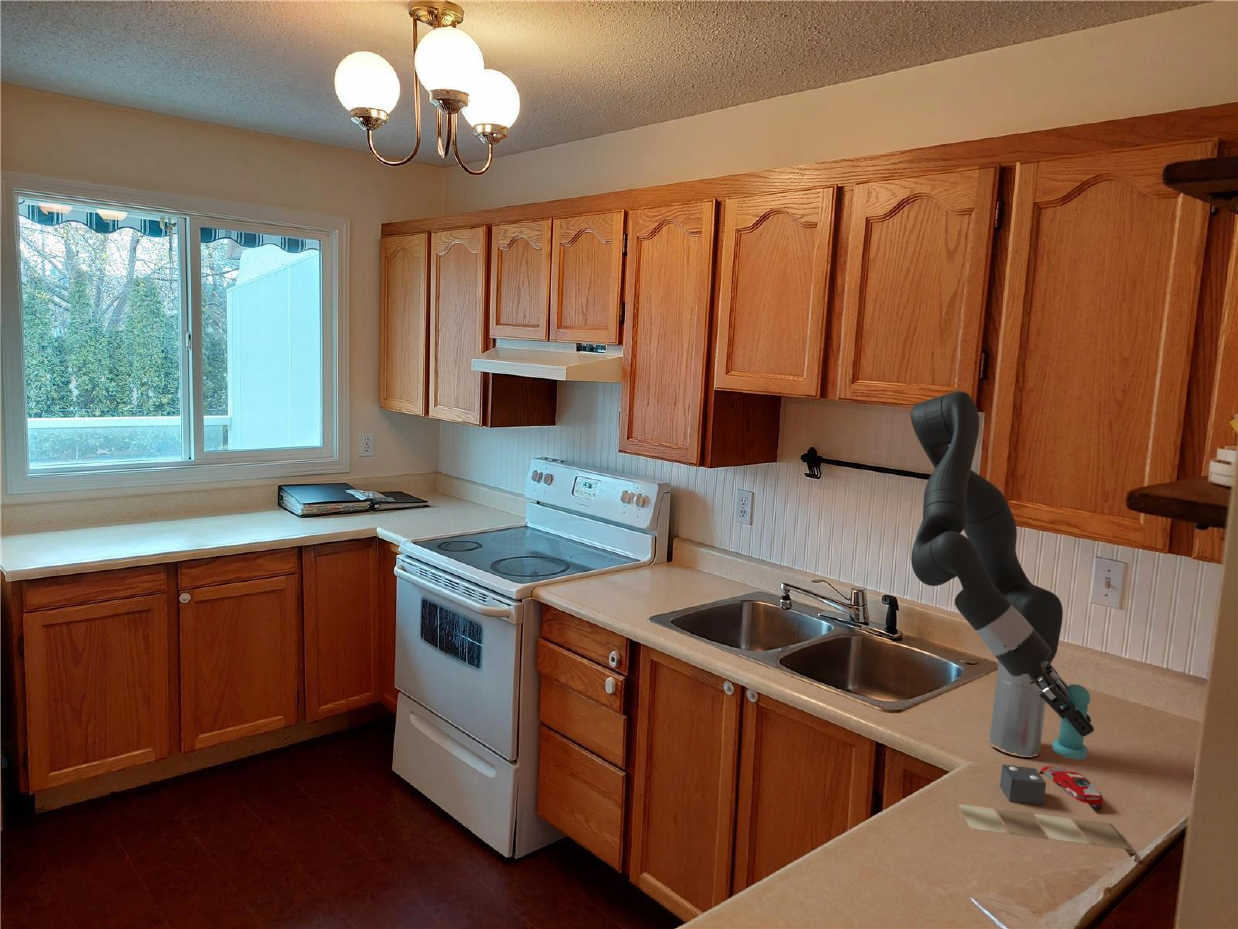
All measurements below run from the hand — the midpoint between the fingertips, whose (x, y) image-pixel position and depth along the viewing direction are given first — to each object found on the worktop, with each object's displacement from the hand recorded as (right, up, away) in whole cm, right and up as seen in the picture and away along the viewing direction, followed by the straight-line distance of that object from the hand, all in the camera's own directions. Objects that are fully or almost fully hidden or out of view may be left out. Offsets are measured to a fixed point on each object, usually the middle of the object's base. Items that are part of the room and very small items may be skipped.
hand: (1087, 728), depth 134 cm
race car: (+7, -18, +18) cm, 27 cm away
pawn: (-2, -4, +1) cm, 5 cm away
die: (-4, -17, +13) cm, 22 cm away
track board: (-6, -18, +3) cm, 19 cm away
